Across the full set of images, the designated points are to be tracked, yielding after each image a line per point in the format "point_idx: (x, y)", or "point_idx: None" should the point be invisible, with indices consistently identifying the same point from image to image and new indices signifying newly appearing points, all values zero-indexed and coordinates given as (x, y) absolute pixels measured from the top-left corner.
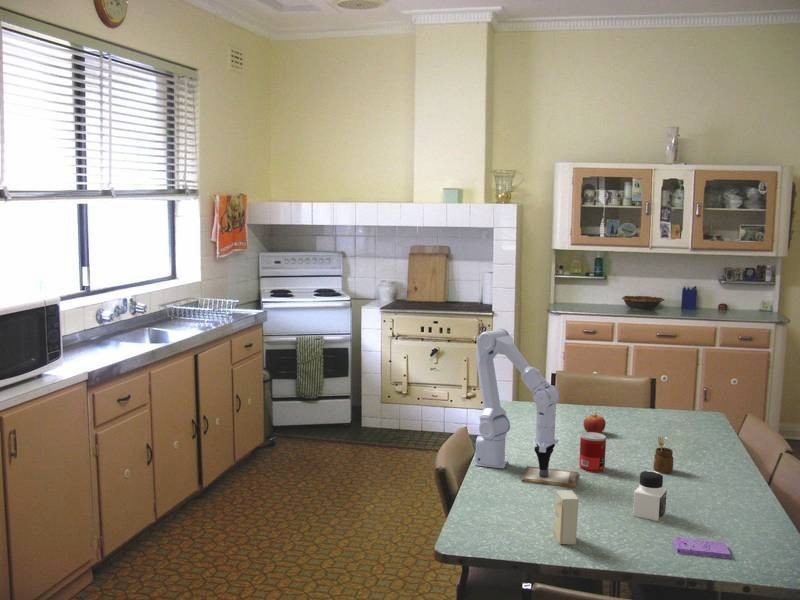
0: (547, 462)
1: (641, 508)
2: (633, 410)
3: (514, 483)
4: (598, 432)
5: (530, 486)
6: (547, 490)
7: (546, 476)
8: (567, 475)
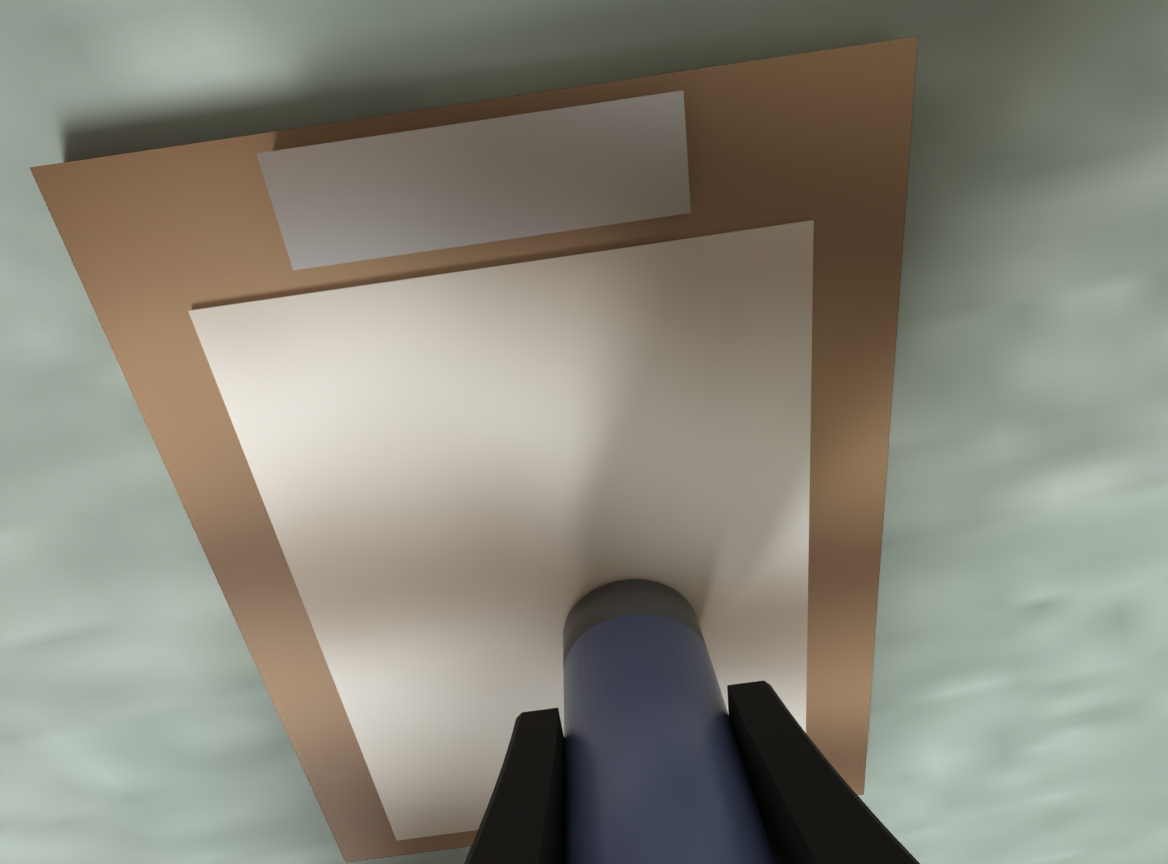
0: (882, 841)
1: None
2: None
3: (929, 809)
4: None
5: (989, 663)
6: (1107, 454)
7: (682, 599)
8: (406, 316)
